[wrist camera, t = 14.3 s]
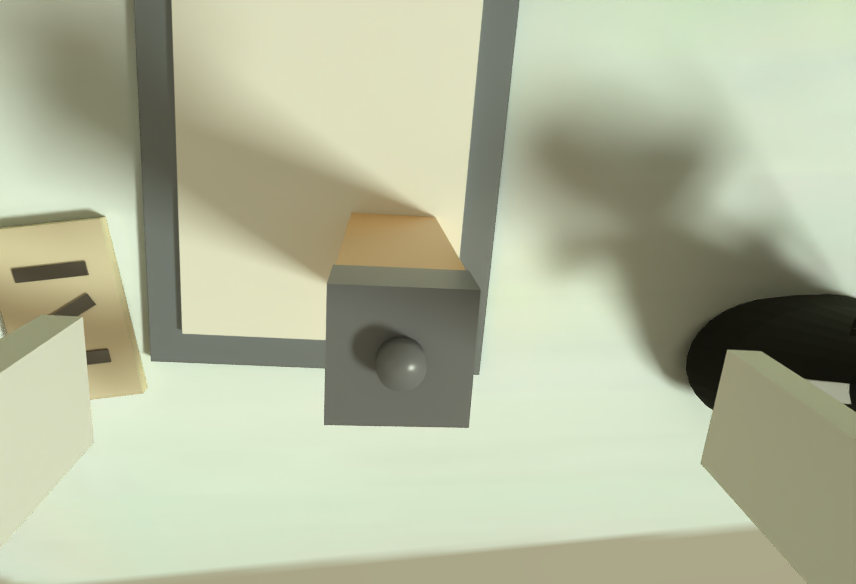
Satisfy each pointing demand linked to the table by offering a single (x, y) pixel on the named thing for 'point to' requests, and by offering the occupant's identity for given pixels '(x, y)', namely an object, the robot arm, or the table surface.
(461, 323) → the tan grey knobbed box
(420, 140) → the grey framed cream board
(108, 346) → the word card
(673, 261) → the table surface
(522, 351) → the table surface
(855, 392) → the toy
